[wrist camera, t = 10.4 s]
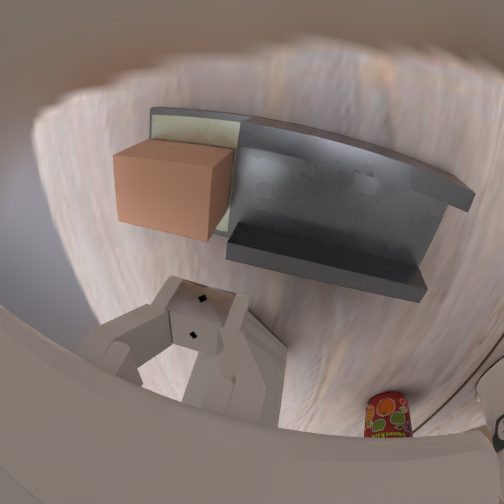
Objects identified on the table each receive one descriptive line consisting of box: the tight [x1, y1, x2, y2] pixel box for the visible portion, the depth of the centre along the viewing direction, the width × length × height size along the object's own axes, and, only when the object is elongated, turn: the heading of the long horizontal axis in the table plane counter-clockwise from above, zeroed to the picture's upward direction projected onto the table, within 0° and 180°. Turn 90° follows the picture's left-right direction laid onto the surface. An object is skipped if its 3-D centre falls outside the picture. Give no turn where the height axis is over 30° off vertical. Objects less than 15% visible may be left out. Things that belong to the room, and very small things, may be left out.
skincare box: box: [182, 311, 288, 427], centre depth 25 cm, size 8×6×15 cm
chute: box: [149, 107, 476, 303], centre depth 19 cm, size 24×10×4 cm, turn 82°
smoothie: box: [364, 392, 413, 438], centre depth 26 cm, size 8×8×20 cm
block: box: [113, 140, 234, 242], centre depth 18 cm, size 7×5×4 cm
